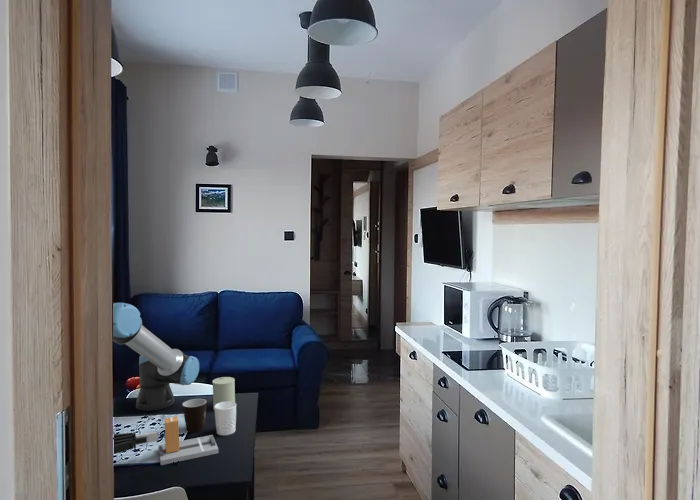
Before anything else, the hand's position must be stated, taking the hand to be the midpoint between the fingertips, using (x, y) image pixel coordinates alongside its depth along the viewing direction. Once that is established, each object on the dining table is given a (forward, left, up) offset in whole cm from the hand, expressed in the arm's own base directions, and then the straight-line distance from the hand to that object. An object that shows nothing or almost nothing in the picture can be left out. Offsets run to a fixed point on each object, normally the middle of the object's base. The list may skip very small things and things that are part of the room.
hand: (157, 435), depth 156 cm
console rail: (0, +9, -7) cm, 12 cm away
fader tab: (0, +4, -6) cm, 7 cm away
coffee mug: (-19, +15, -8) cm, 26 cm away
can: (-35, +28, -8) cm, 46 cm away
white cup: (-10, +24, -8) cm, 27 cm away
